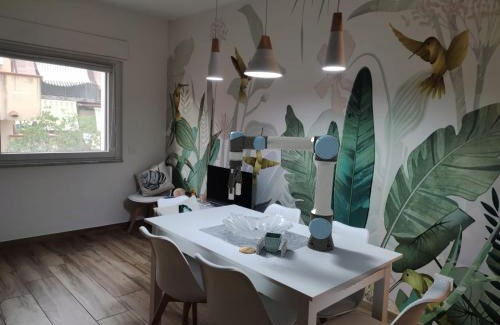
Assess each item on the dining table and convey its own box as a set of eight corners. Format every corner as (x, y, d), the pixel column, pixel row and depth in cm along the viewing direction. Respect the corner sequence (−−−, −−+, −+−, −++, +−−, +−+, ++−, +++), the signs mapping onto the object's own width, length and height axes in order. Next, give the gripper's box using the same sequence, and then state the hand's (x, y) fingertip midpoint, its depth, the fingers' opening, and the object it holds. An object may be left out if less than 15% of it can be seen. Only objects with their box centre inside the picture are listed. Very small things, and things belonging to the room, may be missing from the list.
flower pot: (279, 254, 192) (280, 238, 191) (263, 252, 194) (264, 236, 192) (281, 249, 200) (282, 233, 199) (265, 247, 202) (266, 231, 201)
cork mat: (257, 249, 199) (257, 248, 198) (253, 254, 190) (253, 253, 190) (241, 247, 201) (241, 246, 201) (236, 252, 192) (237, 251, 192)
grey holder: (287, 248, 201) (287, 240, 200) (283, 257, 187) (283, 248, 187) (262, 245, 204) (262, 237, 204) (256, 254, 191) (256, 244, 190)
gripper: (235, 157, 213) (234, 192, 215) (222, 161, 189) (221, 200, 191) (248, 158, 211) (246, 193, 214) (236, 162, 187) (234, 202, 190)
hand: (234, 197), depth 203 cm, fingers open, 13 cm apart
